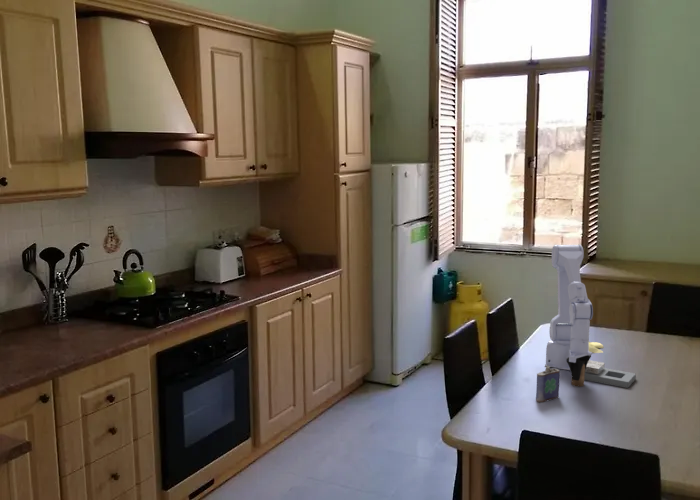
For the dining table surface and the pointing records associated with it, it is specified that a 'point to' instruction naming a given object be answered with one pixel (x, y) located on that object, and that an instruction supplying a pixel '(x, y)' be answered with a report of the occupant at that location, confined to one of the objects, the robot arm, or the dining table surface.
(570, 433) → the dining table surface
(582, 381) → the pin
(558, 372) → the flask
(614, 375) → the grey flat frame
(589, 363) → the sliding cover
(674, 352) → the dining table surface
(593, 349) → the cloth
